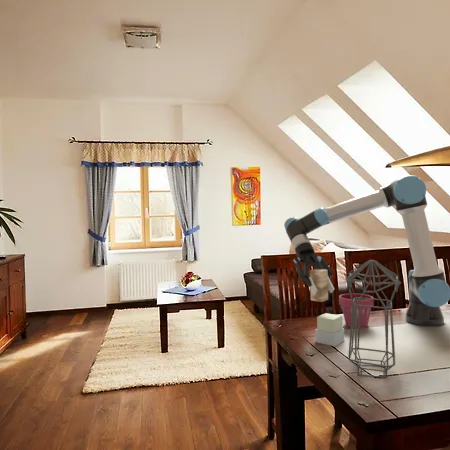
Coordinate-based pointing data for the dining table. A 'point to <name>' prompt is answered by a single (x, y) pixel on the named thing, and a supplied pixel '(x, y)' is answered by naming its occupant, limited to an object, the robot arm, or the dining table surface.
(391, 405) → the dining table surface
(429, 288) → the robot arm
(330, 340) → the tower base
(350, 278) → the geometric lantern
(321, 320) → the tower top
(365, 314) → the plant pot
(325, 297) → the pillar
